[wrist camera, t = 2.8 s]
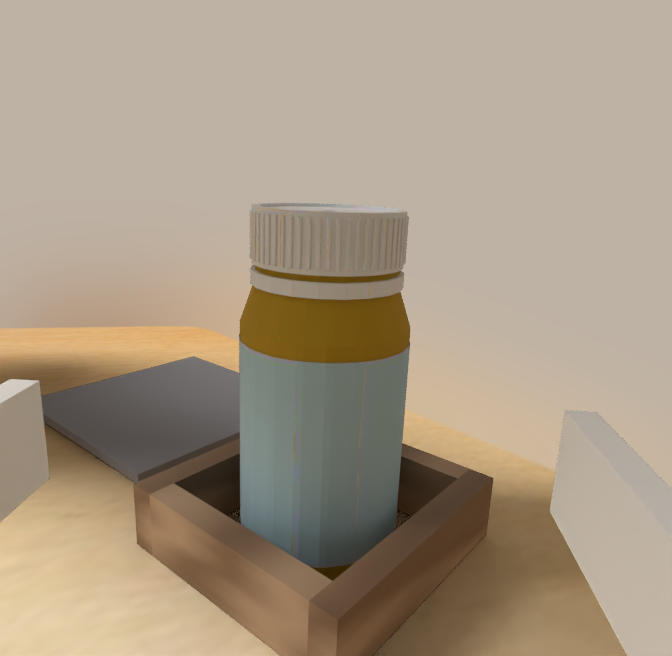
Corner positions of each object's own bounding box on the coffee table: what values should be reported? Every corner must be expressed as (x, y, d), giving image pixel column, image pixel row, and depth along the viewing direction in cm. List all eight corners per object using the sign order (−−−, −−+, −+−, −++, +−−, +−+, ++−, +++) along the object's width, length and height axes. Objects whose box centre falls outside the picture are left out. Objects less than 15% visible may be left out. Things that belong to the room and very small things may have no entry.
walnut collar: (137, 543, 25) (133, 484, 24) (308, 454, 33) (310, 408, 32) (334, 696, 18) (337, 619, 17) (486, 534, 26) (493, 478, 26)
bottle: (342, 484, 30) (355, 203, 26) (425, 560, 24) (458, 214, 20) (218, 519, 27) (213, 200, 23) (282, 617, 21) (289, 214, 17)
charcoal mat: (24, 409, 38) (23, 401, 38) (193, 362, 48) (193, 356, 48) (138, 484, 29) (137, 474, 29) (313, 408, 40) (313, 400, 40)
